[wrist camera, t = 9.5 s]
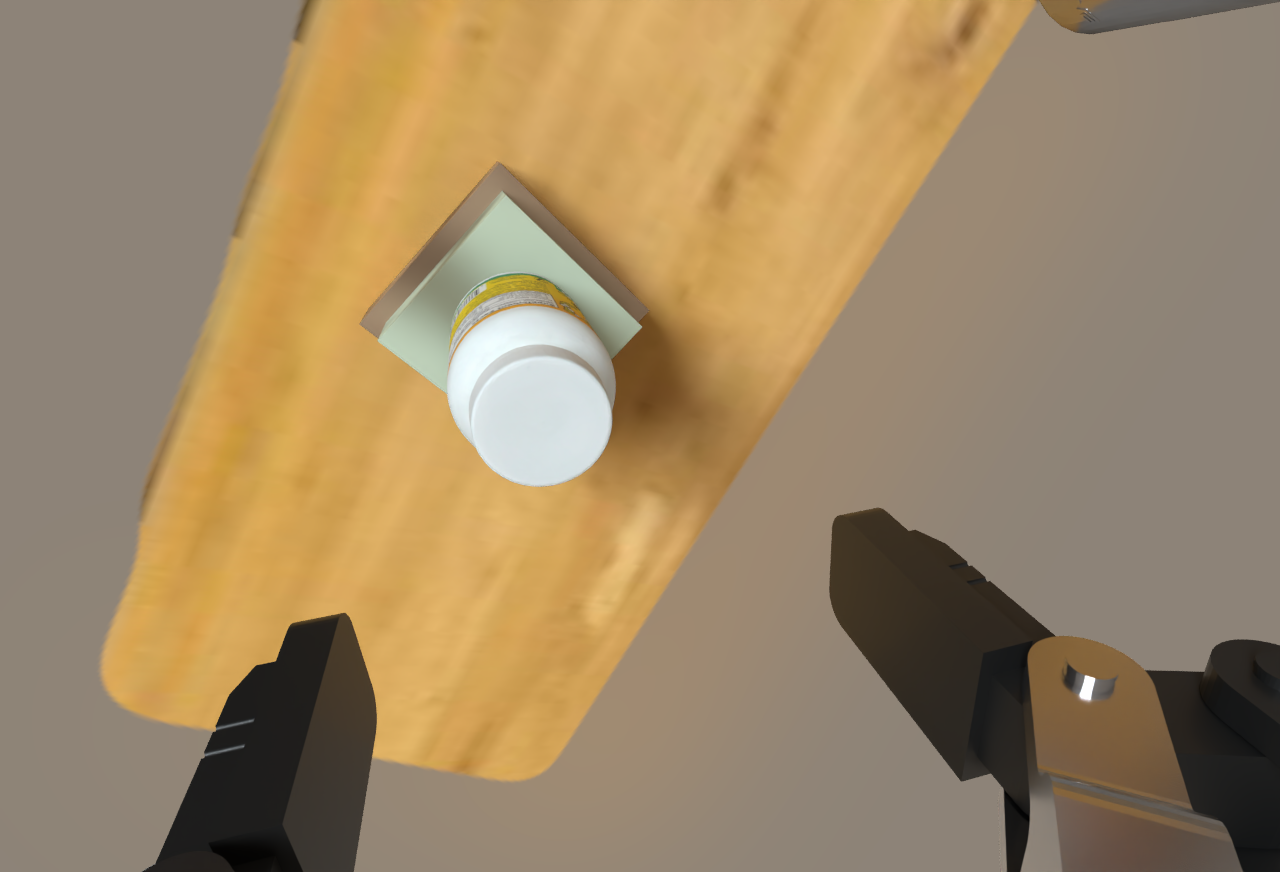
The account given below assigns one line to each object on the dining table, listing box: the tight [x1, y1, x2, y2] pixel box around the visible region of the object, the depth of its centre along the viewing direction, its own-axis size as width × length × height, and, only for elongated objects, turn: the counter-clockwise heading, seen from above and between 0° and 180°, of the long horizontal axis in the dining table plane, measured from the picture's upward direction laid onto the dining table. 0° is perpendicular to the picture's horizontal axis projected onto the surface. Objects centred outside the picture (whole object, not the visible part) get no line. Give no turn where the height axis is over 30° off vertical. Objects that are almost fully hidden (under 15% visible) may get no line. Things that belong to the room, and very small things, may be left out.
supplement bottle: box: [447, 272, 616, 487], centre depth 23 cm, size 5×5×10 cm
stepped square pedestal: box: [360, 162, 649, 394], centre depth 30 cm, size 9×9×6 cm
